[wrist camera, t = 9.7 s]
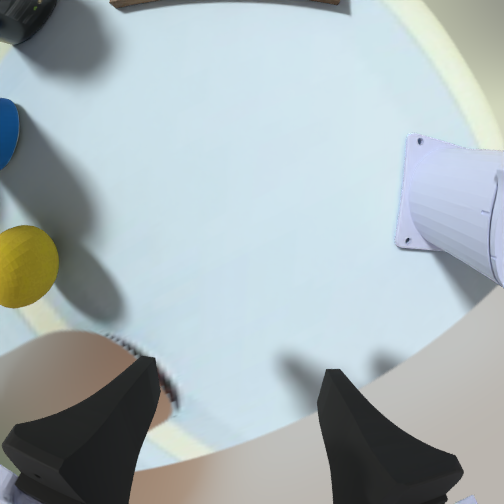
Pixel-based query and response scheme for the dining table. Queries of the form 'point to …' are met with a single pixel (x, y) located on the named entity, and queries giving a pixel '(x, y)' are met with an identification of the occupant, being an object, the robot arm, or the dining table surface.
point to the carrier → (127, 0)
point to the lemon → (26, 265)
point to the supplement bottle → (22, 18)
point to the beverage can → (8, 130)
